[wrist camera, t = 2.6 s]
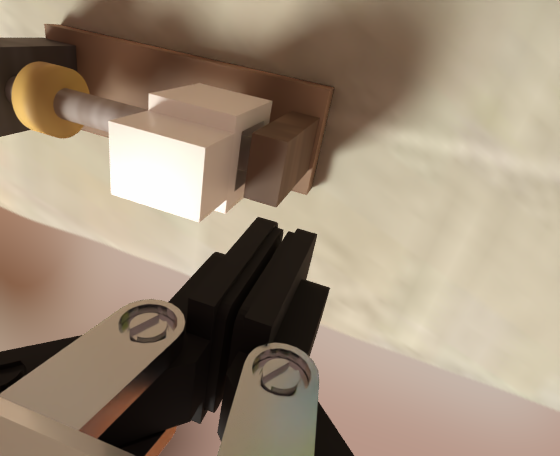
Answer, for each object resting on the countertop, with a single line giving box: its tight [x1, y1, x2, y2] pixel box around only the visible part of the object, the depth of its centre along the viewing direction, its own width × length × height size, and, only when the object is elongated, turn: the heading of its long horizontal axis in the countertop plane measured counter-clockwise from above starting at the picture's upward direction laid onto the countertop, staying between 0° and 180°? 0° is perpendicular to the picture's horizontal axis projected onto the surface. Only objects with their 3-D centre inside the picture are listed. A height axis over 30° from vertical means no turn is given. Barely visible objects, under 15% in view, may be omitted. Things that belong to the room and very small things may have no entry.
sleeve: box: [108, 83, 272, 222], centre depth 18 cm, size 4×4×7 cm
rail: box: [0, 24, 334, 207], centre depth 22 cm, size 18×6×7 cm, turn 79°
